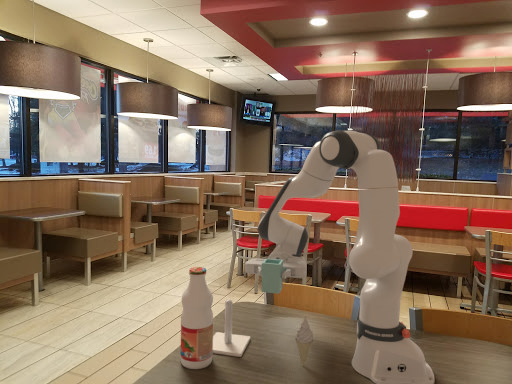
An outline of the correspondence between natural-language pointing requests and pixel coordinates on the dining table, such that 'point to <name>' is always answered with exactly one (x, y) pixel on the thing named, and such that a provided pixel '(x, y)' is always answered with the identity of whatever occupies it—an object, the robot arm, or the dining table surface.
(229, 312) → the post stand
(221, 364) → the dining table surface
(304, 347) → the ice cream cone
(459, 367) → the dining table surface
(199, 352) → the fruit juice
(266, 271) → the sleeve
